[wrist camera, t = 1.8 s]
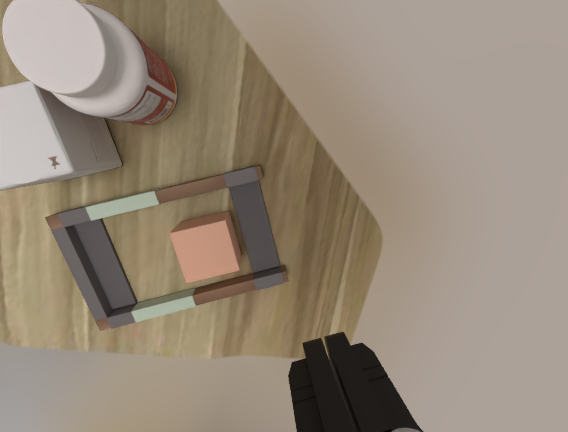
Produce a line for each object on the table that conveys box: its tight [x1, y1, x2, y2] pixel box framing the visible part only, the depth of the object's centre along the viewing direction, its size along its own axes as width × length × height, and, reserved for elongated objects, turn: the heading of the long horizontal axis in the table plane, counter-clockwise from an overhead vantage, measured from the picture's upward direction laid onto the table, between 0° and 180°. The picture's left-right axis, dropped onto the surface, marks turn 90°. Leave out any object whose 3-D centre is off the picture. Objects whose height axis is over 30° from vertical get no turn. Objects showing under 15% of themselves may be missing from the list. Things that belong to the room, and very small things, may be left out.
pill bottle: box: [2, 0, 177, 125], centre depth 18 cm, size 6×6×11 cm
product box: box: [0, 81, 122, 191], centre depth 21 cm, size 6×6×7 cm
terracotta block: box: [169, 211, 241, 283], centre depth 26 cm, size 5×5×4 cm
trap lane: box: [45, 165, 288, 331], centre depth 27 cm, size 12×20×2 cm, turn 103°
